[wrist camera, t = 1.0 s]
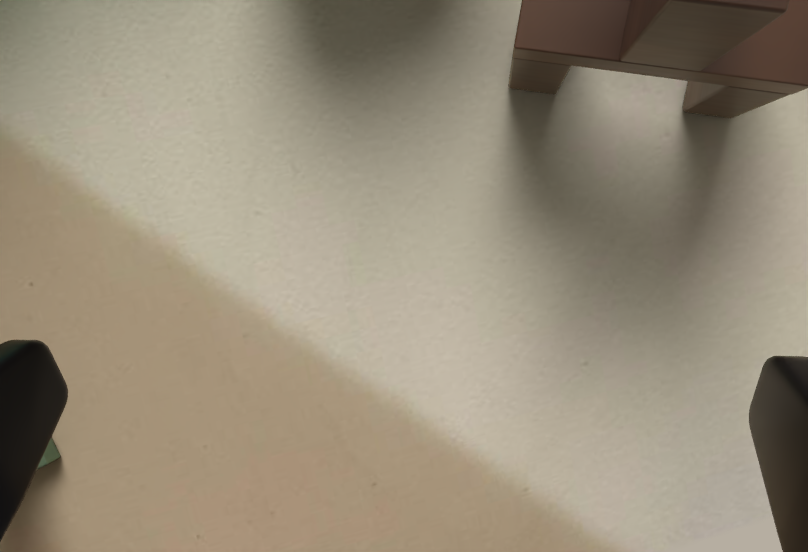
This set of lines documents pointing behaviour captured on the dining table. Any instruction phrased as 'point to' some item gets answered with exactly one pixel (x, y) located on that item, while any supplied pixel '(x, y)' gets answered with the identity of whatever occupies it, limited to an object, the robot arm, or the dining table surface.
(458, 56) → the dining table surface
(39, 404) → the robot arm
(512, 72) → the brown stepped block
